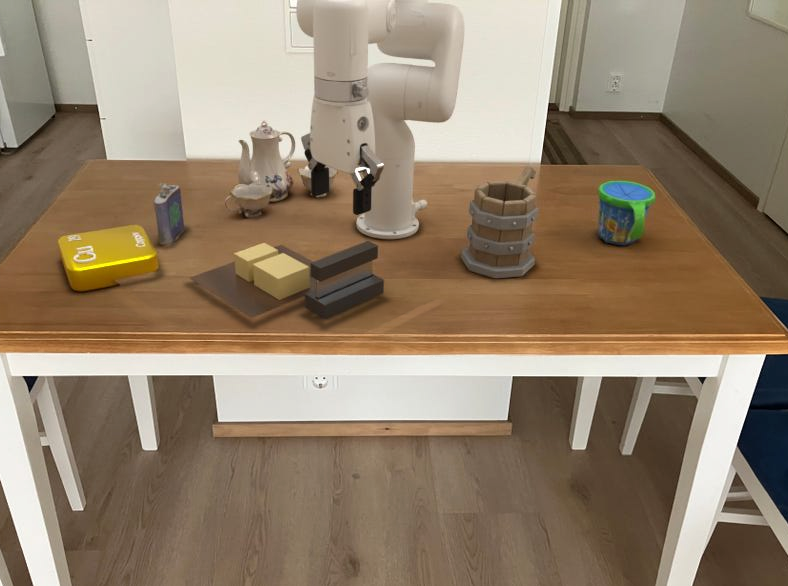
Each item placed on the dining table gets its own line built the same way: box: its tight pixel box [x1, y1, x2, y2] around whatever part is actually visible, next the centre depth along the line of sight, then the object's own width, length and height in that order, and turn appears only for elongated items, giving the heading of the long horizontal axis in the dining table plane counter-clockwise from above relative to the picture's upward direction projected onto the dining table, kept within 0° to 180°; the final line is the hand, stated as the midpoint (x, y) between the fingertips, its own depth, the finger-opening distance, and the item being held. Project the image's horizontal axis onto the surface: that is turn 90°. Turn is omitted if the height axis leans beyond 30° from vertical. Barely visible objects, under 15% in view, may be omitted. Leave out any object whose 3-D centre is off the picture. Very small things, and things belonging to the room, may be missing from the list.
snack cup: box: [597, 180, 656, 246], centre depth 152 cm, size 16×11×10 cm
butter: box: [253, 253, 310, 300], centre depth 131 cm, size 6×7×4 cm
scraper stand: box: [304, 273, 385, 320], centre depth 128 cm, size 13×5×4 cm, turn 134°
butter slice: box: [233, 242, 278, 282], centre depth 135 cm, size 6×4×4 cm, turn 134°
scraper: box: [310, 240, 379, 299], centre depth 127 cm, size 12×2×10 cm, turn 134°
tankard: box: [460, 165, 539, 279], centre depth 143 cm, size 20×13×15 cm, turn 147°
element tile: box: [57, 224, 160, 292], centre depth 138 cm, size 15×15×5 cm
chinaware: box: [224, 119, 339, 218], centre depth 163 cm, size 28×17×17 cm, turn 139°
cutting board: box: [189, 244, 316, 319], centre depth 135 cm, size 20×18×2 cm
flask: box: [153, 183, 186, 247], centre depth 147 cm, size 9×3×11 cm, turn 172°
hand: (340, 203), depth 119 cm, fingers open, 9 cm apart
